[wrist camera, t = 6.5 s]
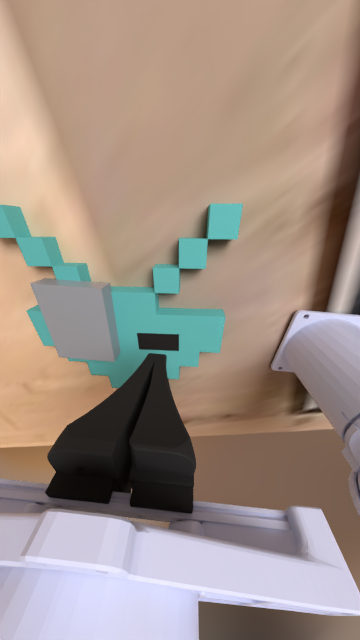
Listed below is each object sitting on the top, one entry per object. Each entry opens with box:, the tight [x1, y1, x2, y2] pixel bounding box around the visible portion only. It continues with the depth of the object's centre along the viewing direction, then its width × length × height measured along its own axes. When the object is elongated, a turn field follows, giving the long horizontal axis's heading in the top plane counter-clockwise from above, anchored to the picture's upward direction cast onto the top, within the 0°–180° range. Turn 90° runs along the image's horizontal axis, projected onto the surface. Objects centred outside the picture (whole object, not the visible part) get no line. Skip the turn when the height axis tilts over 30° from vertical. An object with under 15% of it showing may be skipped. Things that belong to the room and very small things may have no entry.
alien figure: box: [0, 204, 243, 388], centre depth 18 cm, size 20×2×20 cm
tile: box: [30, 278, 121, 362], centre depth 16 cm, size 2×8×6 cm
